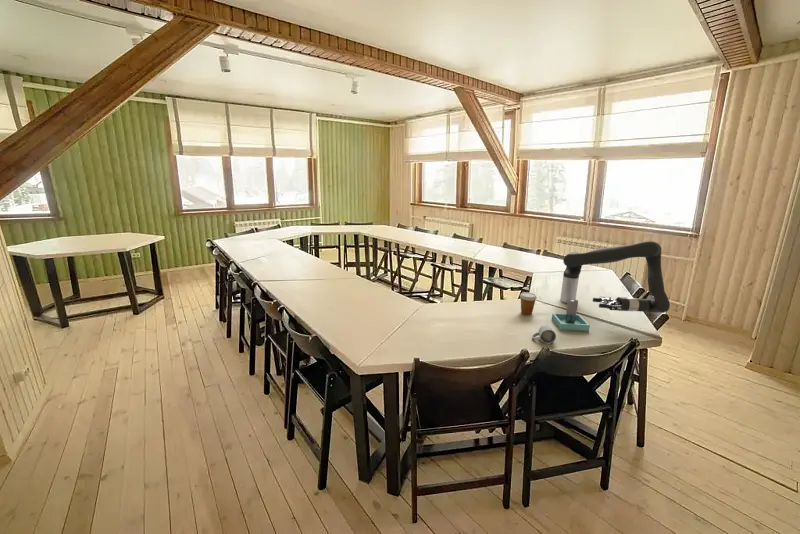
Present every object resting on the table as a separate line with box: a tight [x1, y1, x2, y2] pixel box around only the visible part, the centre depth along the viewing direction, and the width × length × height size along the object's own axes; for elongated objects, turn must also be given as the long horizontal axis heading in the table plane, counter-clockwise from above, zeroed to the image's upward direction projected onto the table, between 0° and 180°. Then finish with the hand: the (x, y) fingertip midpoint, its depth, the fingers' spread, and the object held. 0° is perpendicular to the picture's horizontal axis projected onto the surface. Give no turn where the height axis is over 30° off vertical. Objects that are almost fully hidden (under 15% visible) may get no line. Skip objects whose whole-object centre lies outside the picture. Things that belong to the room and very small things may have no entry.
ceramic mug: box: [531, 324, 557, 345], centre depth 183 cm, size 11×8×8 cm
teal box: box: [551, 312, 591, 333], centre depth 200 cm, size 15×15×4 cm
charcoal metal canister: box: [565, 299, 579, 324], centre depth 199 cm, size 5×5×14 cm
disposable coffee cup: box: [519, 291, 537, 316], centre depth 216 cm, size 10×10×12 cm
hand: (596, 302), depth 198 cm, fingers open, 8 cm apart
